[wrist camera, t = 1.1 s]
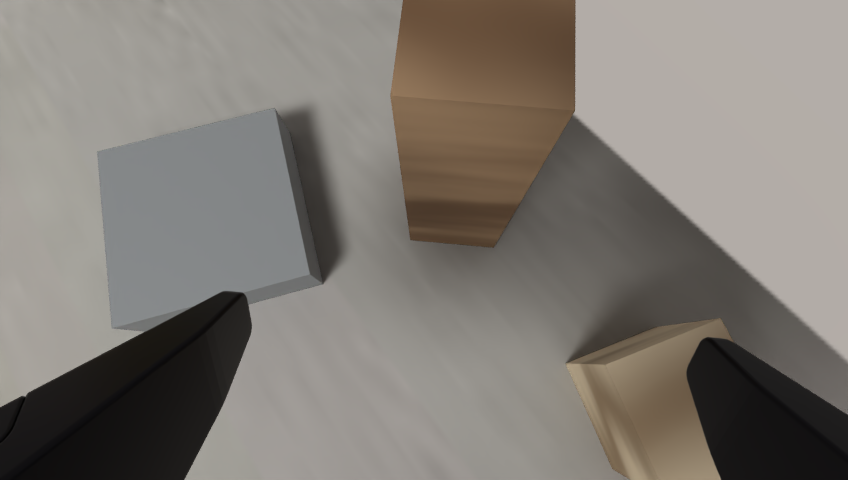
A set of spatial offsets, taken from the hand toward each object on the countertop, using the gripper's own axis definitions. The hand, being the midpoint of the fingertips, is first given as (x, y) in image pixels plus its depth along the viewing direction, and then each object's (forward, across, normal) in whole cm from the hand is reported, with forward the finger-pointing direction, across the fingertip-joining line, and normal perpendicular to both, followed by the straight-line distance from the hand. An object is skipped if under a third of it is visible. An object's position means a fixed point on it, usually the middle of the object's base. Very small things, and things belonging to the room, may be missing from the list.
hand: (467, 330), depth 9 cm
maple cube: (+8, -9, +10) cm, 16 cm away
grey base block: (+13, +12, +6) cm, 19 cm away
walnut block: (+15, 0, +4) cm, 15 cm away
